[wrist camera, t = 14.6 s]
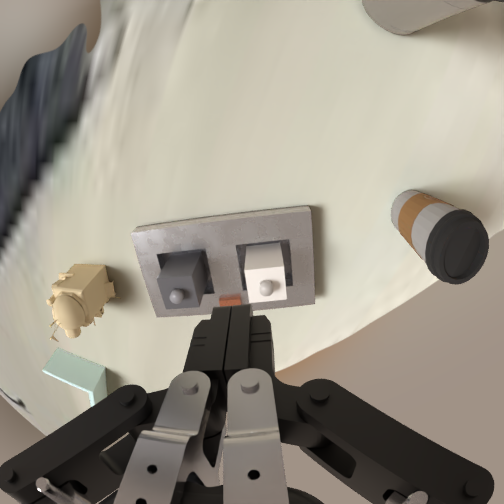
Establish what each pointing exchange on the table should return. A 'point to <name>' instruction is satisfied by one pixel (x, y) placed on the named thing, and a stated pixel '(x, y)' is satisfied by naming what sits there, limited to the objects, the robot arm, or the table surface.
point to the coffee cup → (441, 235)
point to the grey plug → (183, 280)
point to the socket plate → (230, 255)
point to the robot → (80, 297)
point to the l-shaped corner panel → (78, 374)
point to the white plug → (265, 273)
